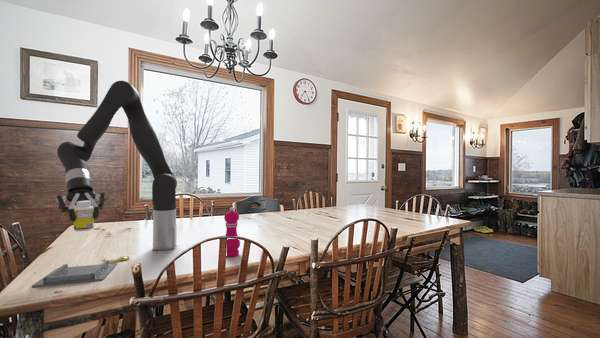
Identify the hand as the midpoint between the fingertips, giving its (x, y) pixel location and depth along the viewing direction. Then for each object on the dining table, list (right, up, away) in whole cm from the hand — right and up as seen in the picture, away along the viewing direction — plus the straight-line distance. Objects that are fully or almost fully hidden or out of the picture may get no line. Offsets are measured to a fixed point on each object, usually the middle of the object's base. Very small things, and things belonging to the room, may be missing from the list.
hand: (84, 218), depth 93 cm
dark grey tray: (+1, -18, -4) cm, 19 cm away
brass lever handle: (+6, -18, +9) cm, 21 cm away
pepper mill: (+47, -19, +18) cm, 54 cm away
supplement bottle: (-1, -4, +1) cm, 5 cm away
